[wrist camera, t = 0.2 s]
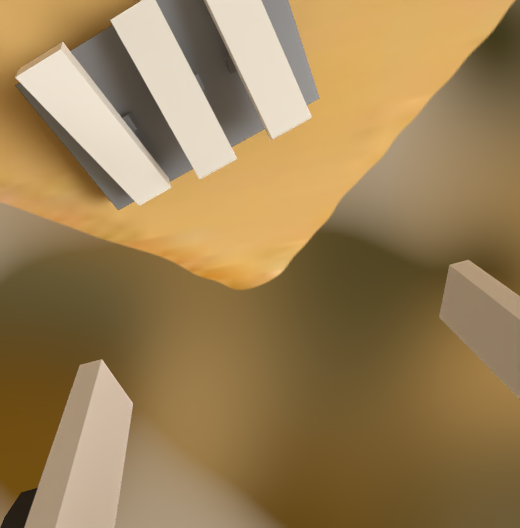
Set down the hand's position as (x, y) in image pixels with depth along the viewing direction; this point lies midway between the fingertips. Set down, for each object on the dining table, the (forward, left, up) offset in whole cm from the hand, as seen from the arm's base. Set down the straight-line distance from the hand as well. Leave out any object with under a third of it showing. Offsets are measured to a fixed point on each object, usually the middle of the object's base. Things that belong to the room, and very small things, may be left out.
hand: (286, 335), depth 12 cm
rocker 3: (-7, +6, -20) cm, 22 cm away
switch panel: (-7, 0, -27) cm, 28 cm away
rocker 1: (-7, -7, -20) cm, 22 cm away
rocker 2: (-7, 0, -20) cm, 21 cm away
